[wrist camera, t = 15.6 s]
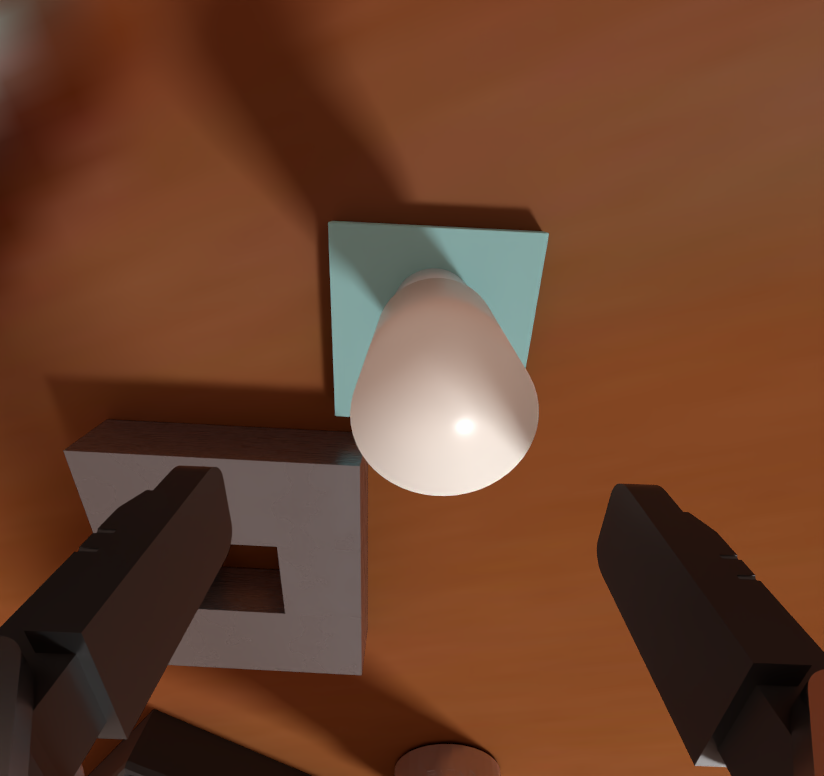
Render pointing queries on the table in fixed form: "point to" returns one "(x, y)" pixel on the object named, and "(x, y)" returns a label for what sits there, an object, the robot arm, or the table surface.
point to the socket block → (256, 536)
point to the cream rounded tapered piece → (442, 391)
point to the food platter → (184, 753)
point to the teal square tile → (417, 250)
